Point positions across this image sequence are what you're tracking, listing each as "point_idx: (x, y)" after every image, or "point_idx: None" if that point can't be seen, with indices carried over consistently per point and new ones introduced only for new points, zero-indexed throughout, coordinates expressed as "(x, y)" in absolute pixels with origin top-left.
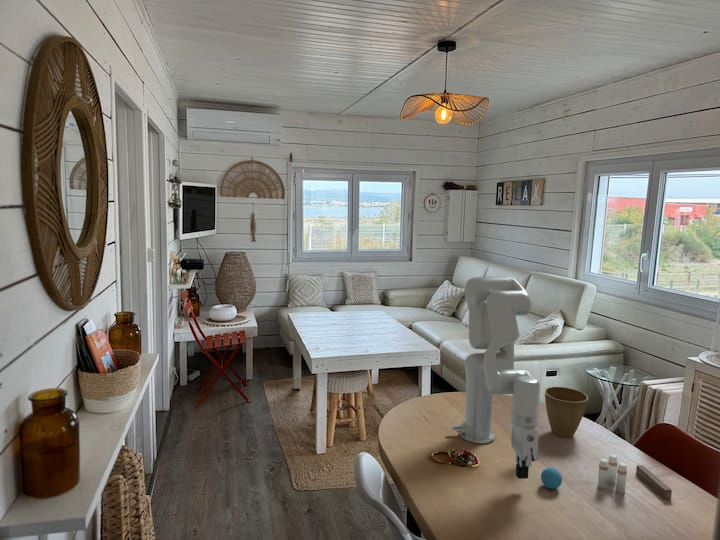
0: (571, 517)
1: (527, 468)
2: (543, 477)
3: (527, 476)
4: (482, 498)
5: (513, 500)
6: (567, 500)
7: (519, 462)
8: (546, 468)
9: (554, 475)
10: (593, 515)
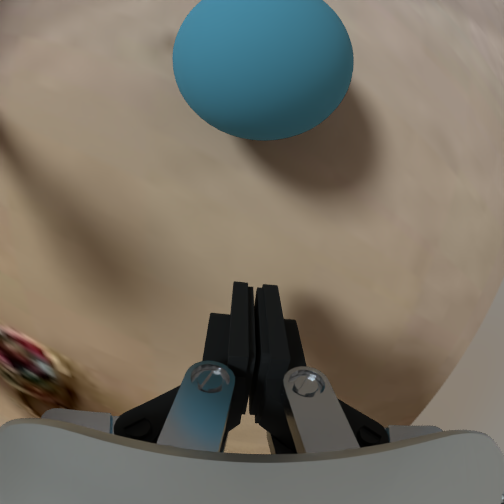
0: (489, 155)
1: (285, 347)
2: (277, 138)
3: (277, 295)
4: None
5: (331, 338)
6: (397, 68)
7: (282, 451)
8: (217, 71)
9: (343, 59)
10: (488, 59)
